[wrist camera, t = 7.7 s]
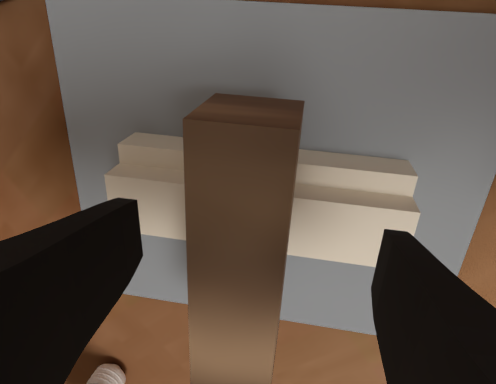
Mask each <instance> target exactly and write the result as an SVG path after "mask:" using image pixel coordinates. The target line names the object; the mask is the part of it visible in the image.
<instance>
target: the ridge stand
mask: <svg viewBox="0 0 496 384" xmlns="http://www.w3.org/2000/svg"><path fill="white" fill-rule="evenodd" d="M45 2H46V7H47V13H48V19H49V25H50V31H51V37H52V43H53V48H54V54H55V60H56V66H57V72H58V78H59V84H60V89H61V95H62V101H63V107H64V113H65V119H66V125H67V131H68V136H69V142H70V148H71V154H72V160H73V166H74V172H75V177H76V183H77V189H78V195H79V201H80V207H81V211H82V210H85V209H87V208H90V207H92V206H95V205H97V204H100V203H102V202H105V201H108V200H111V199H115V198H126V199H135V200H137V203H138V212H139V222H140V231H141V240H142V249H143V257H142V259H141V261H140V264H139V266H138V268H137V270H136V272H135V274H134V276H133V278H132V279H131V281H130V283H129V285H128V286H127V288H126V289H125V291H124V292H123V294H128V295H134V296H141V297H147V298H153V299H159V300H165V301H171V302H177V303H183V304H188V287H187V253H186V220H185V186H184V153H183V118H184V117H186V116H187V115H188V114H189V113H191V112H192V111H193V110H194V109H196V108H197V107H198V106H200V105H201V104H202V103H203V102H205V101H206V100H207V99H209V98H210V97H211V96H212V95H214V94H215V93H221V94H233V95H244V96H256V97H268V98H279V99H291V100H303V101H305V103H304V112H303V120H302V129H301V138H300V146H299V155H298V164H297V172H296V181H295V190H294V198H293V207H292V216H291V224H290V233H289V242H288V251H287V259H286V268H285V277H284V285H283V294H282V303H281V311H280V320H286V321H292V322H298V323H305V324H311V325H317V326H323V327H329V328H335V329H341V330H347V331H353V332H359V333H365V334H371V335H376V330H375V325H374V320H373V310H372V297H371V285H372V281H373V276H374V272H375V268H376V263H377V259H378V254H379V250H380V246H381V241H382V237H383V233H384V229H390V230H398V231H407V232H409V233H410V234H411V235H412V236H414V237H415V238H416V239H417V240H418V241H419V242H420V243H421V244H422V245H423V246H424V247H425V248H427V249H428V250H429V251H430V252H431V253H432V254H433V255H434V256H435V257H436V258H437V259H438V260H439V261H440V262H441V263H443V264H444V265H445V266H446V267H447V268H448V269H449V270H450V271H451V272H452V273H454V274H455V275H456V276H458V273H459V270H460V268H461V265H462V262H463V260H464V257H465V254H466V252H467V249H468V246H469V244H470V241H471V238H472V236H473V233H474V230H475V228H476V225H477V222H478V220H479V217H480V214H481V211H482V209H483V206H484V203H485V201H486V198H487V195H488V193H489V190H490V187H491V185H492V182H493V179H494V177H495V174H496V14H488V13H469V12H449V11H430V10H411V9H392V8H372V7H353V6H334V5H315V4H295V3H276V2H257V1H237V0H45Z"/></svg>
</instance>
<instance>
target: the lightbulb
mask: <svg viewBox="0 0 496 384" xmlns="http://www.w3.org/2000/svg"><path fill="white" fill-rule="evenodd" d="M125 381H126V377H125V374H124V372H123V371H122V370H121V368H120V367H119V366H118V365H116V364H102V365H100V366H99V367H98V368H97V369H96V370H95V371H94V373H93V374H92V376H91V377H90V379H89V380H88V382H87V383H86V384H125Z"/></svg>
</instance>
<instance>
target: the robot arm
mask: <svg viewBox="0 0 496 384" xmlns="http://www.w3.org/2000/svg"><path fill="white" fill-rule="evenodd" d="M142 257H143V249H142V240H141V231H140V222H139V212H138V203H137V200H135V199H126V198H115V199H111V200H108V201H105V202H102V203H100V204H97V205H95V206H92V207H90V208H87V209H85V210H82V211H80V212H77V213H75V214H72V215H70V216H67V217H65V218H62V219H60V220H57V221H55V222H52V223H50V224H47V225H44V226H42V227H39V228H36V229H33V230H31V231H28V232H25V233H23V234H20V235H17V236H14V237H11V238H8V239H5V240H2V241H0V384H64V383H65V381H66V379H67V377H68V375H69V374H70V372H71V370H72V368H73V366H74V365H75V363H76V361H77V359H78V358H79V356H80V354H81V353H82V351H83V350H84V348H85V347H86V345H87V344H88V342H89V341H90V339H91V338H92V336H93V335H94V334H95V332H96V331H97V329H98V328H99V327H100V325H101V324H102V322H103V321H104V319H105V318H106V317H107V315H108V314H109V312H110V311H111V309H112V308H113V307H114V305H115V304H116V302H117V301H118V299H119V298H120V297H121V295H122V294H123V292H124V291H125V289H126V288H127V286H128V285H129V283H130V281H131V279H132V278H133V276H134V274H135V272H136V270H137V268H138V266H139V264H140V261H141V259H142ZM371 297H372V310H373V320H374V325H375V330H376V335H377V340H378V344H379V349H380V354H381V358H382V363H383V367H384V372H385V376H386V381H387V384H496V308H495V307H493V306H492V305H491V304H490V303H488V302H487V301H486V300H485V299H483V298H482V297H481V296H480V295H478V294H477V293H476V292H475V291H473V290H472V289H471V288H470V287H469V286H467V285H466V284H465V283H464V282H463V281H462V280H460V279H459V278H458V277H457V276H456V275H455V274H454V273H452V272H451V271H450V270H449V269H448V268H447V267H446V266H445V265H444V264H443V263H441V262H440V261H439V260H438V259H437V258H436V257H435V256H434V255H433V254H432V253H431V252H430V251H429V250H428V249H427V248H425V247H424V246H423V245H422V244H421V243H420V242H419V241H418V240H417V239H416V238H415V237H414V236H412V235H411V234H410V233H409V232H407V231H398V230H390V229H384V233H383V237H382V241H381V246H380V250H379V254H378V259H377V263H376V268H375V272H374V276H373V281H372V285H371Z"/></svg>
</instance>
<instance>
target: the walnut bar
mask: <svg viewBox="0 0 496 384" xmlns="http://www.w3.org/2000/svg"><path fill="white" fill-rule="evenodd" d="M304 103H305V101H303V100H291V99H279V98H268V97H256V96H244V95H233V94H221V93H215V94H214V95H212V96H211V97H210V98H209V99H207V100H206V101H205V102H203V103H202V104H201V105H200V106H198V107H197V108H196V109H194V110H193V111H192V112H191V113H189V114H188V115H187V116H186V117H184V118H183V153H184V186H185V220H186V253H187V287H188V320H189V354H190V384H271V383H272V375H273V367H274V360H275V352H276V344H277V337H278V329H279V320H280V311H281V303H282V294H283V285H284V277H285V268H286V259H287V251H288V242H289V233H290V224H291V216H292V207H293V198H294V190H295V181H296V172H297V164H298V155H299V146H300V138H301V129H302V120H303V112H304Z"/></svg>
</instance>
